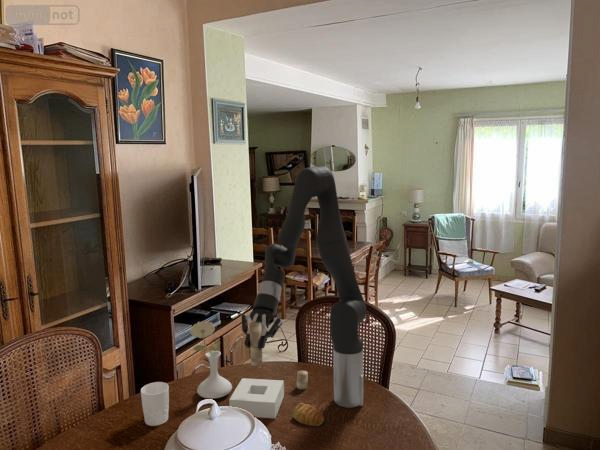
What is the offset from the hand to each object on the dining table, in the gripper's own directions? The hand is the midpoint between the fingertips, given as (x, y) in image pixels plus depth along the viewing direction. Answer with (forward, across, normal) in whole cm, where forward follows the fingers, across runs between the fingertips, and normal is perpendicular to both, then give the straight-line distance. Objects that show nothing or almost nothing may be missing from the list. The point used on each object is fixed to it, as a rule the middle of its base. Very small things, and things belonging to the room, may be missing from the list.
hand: (253, 347), depth 138 cm
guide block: (+12, 0, +15) cm, 20 cm away
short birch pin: (+2, +10, +26) cm, 27 cm away
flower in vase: (+11, -17, +17) cm, 27 cm away
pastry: (+15, +18, +14) cm, 27 cm away
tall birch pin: (+3, 0, +6) cm, 6 cm away
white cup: (+24, -25, +4) cm, 35 cm away
